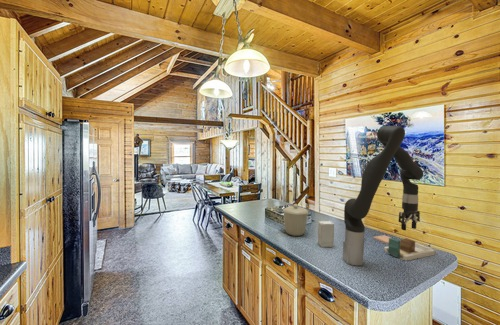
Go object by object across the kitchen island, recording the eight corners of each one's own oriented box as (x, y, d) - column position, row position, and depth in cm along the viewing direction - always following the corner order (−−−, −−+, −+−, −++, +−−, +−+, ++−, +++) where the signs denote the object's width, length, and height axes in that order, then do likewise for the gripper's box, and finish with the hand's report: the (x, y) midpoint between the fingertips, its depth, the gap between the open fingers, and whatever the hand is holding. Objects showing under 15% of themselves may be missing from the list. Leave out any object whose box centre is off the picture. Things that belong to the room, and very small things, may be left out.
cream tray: (405, 261, 119) (406, 256, 119) (384, 251, 131) (384, 247, 131) (436, 254, 128) (436, 250, 128) (413, 245, 140) (413, 241, 140)
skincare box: (330, 243, 141) (331, 220, 140) (334, 247, 135) (335, 223, 134) (317, 243, 140) (318, 220, 140) (320, 247, 134) (321, 223, 134)
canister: (310, 238, 148) (311, 207, 147) (283, 237, 149) (284, 206, 148) (304, 229, 166) (305, 201, 165) (280, 228, 167) (281, 201, 166)
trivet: (387, 244, 141) (387, 242, 141) (373, 238, 151) (373, 236, 151) (398, 242, 145) (398, 240, 145) (384, 236, 154) (384, 235, 154)
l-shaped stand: (400, 259, 120) (401, 242, 120) (385, 251, 129) (385, 236, 129) (420, 254, 126) (420, 239, 126) (404, 248, 135) (405, 233, 134)
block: (408, 252, 126) (409, 242, 125) (400, 249, 130) (400, 239, 130) (414, 251, 127) (415, 241, 127) (405, 248, 132) (406, 238, 132)
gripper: (408, 203, 121) (406, 232, 122) (425, 202, 126) (423, 230, 127) (395, 201, 129) (393, 228, 129) (411, 199, 133) (410, 226, 134)
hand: (408, 229), depth 128 cm, fingers open, 8 cm apart
